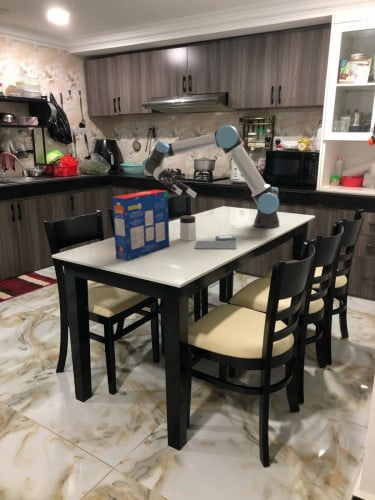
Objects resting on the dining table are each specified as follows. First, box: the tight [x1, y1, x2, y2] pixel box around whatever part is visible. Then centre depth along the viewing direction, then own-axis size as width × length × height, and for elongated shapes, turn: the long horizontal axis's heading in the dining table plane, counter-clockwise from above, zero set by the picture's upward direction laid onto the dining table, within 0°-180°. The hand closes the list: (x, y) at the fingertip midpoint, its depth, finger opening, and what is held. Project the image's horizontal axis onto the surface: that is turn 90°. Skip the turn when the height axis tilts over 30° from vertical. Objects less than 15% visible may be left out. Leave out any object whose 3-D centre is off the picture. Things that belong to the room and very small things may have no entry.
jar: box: [179, 215, 197, 242], centre depth 205 cm, size 9×8×12 cm
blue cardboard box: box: [111, 189, 170, 262], centre depth 181 cm, size 28×8×28 cm, turn 142°
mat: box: [194, 240, 237, 250], centre depth 194 cm, size 20×14×1 cm
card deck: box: [215, 234, 237, 241], centre depth 205 cm, size 9×6×2 cm
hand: (188, 194), depth 209 cm, fingers open, 13 cm apart
